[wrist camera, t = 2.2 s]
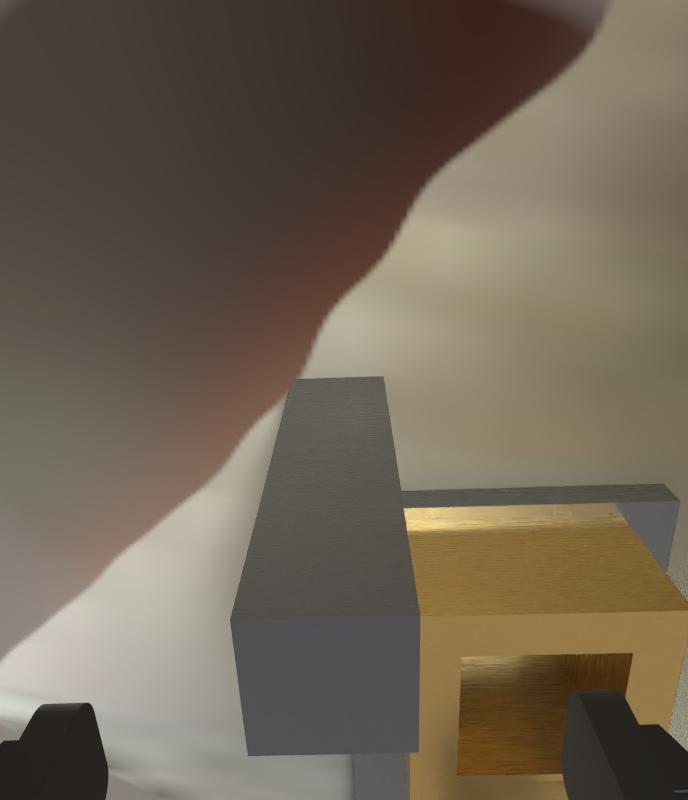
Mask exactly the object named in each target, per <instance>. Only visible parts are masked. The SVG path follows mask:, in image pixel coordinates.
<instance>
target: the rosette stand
mask: <svg viewBox="0 0 688 800" xmlns="http://www.w3.org/2000/svg"><path fill="white" fill-rule="evenodd" d="M401 494H402V500H403V506H404V513H405V519H406V526H407V532H408V539H409V545H410V552H411V558H412V564H413V571H414V577H415V584H416V590H417V597H418V603H419V609H420V696H419V753H372V754H353V771H354V794H355V800H568V797H567V793H566V790H565V785H564V780H563V774H562V763H561V755H562V746H563V737H564V729H565V720H566V712H567V703H568V696H569V693H570V692H571V691H572V690H602V689H617V690H619V691H620V692H621V693H622V694H623V695H624V697H625V698H626V700H627V702H628V704H629V706H630V708H631V710H632V712H633V714H634V715H635V717H636V719H637V721H638V723H639V725H646V724H659V725H660V726H661V727H662V728H663V729H664V730H665V731H666V732H667V733H668V729H669V724H670V719H671V715H672V710H673V706H674V701H675V696H676V692H677V687H678V683H679V678H680V673H681V669H682V664H683V660H684V655H685V650H686V646H687V641H688V602H687V601H686V599H685V598H684V597H683V595H682V594H681V593H680V591H679V590H678V589H677V587H676V586H675V585H674V583H673V582H672V581H671V579H670V578H669V577H668V575H667V574H666V572H667V566H668V561H669V556H670V551H671V545H672V540H673V535H674V530H675V524H676V519H677V514H678V509H679V503H680V500H679V499H678V498H677V497H676V496H675V495H674V494H673V493H672V492H671V491H670V490H669V489H668V488H667V487H666V486H665V485H664V484H650V485H614V486H578V487H542V488H506V489H470V490H434V491H401Z"/></svg>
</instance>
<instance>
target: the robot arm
mask: <svg viewBox="0 0 688 800" xmlns="http://www.w3.org/2000/svg"><path fill="white" fill-rule="evenodd" d="M561 763H562V774H563V780H564V785H565V790H566V793H567V797H568V800H688V752H687V751H686V750H685V749H684V748H683V747H682V746H681V745H680V744H679V743H678V742H677V741H676V740H675V739H674V738H673V737H672V736H671V735H670V734H669V733H667V732H666V731H665V730H664V729H663V728H662V727H661V726H660V725H659V724H646V725H639V723H638V721H637V719H636V717H635V715H634V714H633V712H632V710H631V708H630V706H629V704H628V702H627V700H626V698H625V697H624V695H623V694H622V693H621V692H620V691H619V690H617V689H602V690H572V691H571V692H570V693H569V696H568V703H567V712H566V720H565V729H564V737H563V746H562V755H561ZM107 786H108V766H107V761H106V757H105V753H104V749H103V745H102V741H101V737H100V733H99V729H98V725H97V721H96V717H95V713H94V710H93V707H92V705H91V704H89V703H66V704H44V705H41V706H40V707H39V708H38V709H37V710H36V711H35V713H34V715H33V716H32V718H31V720H30V721H29V723H28V725H27V727H26V728H25V730H24V732H23V734H22V736H21V737H20V739H19V740H17V741H16V740H15V741H3V742H2V743H1V744H0V800H105V799H106V794H107Z"/></svg>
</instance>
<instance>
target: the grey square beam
mask: <svg viewBox="0 0 688 800" xmlns="http://www.w3.org/2000/svg"><path fill="white" fill-rule="evenodd" d="M230 622H231V630H232V638H233V645H234V653H235V660H236V668H237V676H238V683H239V691H240V698H241V706H242V714H243V721H244V729H245V736H246V744H247V751H248V756H267V755H319V754H372V753H419V696H420V609H419V603H418V597H417V590H416V584H415V577H414V571H413V564H412V558H411V552H410V545H409V539H408V532H407V526H406V519H405V513H404V506H403V500H402V494H401V487H400V481H399V474H398V468H397V461H396V455H395V449H394V442H393V436H392V429H391V423H390V416H389V410H388V403H387V397H386V391H385V384H384V378H383V377H353V378H321V379H293V380H292V381H291V385H290V389H289V393H288V397H287V401H286V405H285V408H284V412H283V416H282V420H281V424H280V428H279V432H278V436H277V440H276V443H275V447H274V451H273V455H272V459H271V463H270V467H269V471H268V475H267V479H266V482H265V486H264V490H263V494H262V498H261V502H260V506H259V510H258V514H257V518H256V521H255V525H254V529H253V533H252V537H251V541H250V545H249V549H248V553H247V557H246V560H245V564H244V568H243V572H242V576H241V580H240V584H239V588H238V592H237V596H236V599H235V603H234V607H233V611H232V615H231V619H230Z"/></svg>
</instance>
